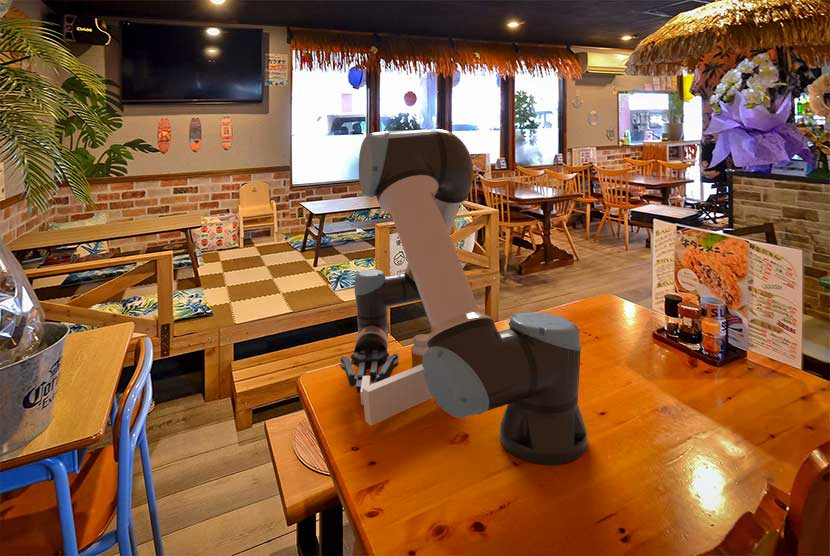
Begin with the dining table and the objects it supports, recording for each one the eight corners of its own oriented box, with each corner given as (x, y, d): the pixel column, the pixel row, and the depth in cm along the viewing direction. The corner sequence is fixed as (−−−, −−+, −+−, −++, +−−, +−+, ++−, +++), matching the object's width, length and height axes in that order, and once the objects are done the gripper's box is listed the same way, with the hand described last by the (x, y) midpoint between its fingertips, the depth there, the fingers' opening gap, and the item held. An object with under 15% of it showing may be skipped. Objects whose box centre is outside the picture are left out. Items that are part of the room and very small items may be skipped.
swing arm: (443, 386, 105) (442, 356, 104) (449, 389, 104) (448, 358, 102) (365, 421, 94) (362, 388, 92) (371, 425, 92) (368, 391, 90)
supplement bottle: (433, 381, 113) (432, 342, 111) (410, 380, 114) (408, 341, 112) (437, 371, 118) (435, 333, 116) (415, 370, 119) (413, 332, 117)
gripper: (400, 360, 117) (400, 413, 95) (344, 363, 117) (332, 417, 94) (398, 331, 115) (398, 377, 92) (342, 334, 115) (328, 382, 92)
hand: (364, 397), depth 93 cm, fingers closed
